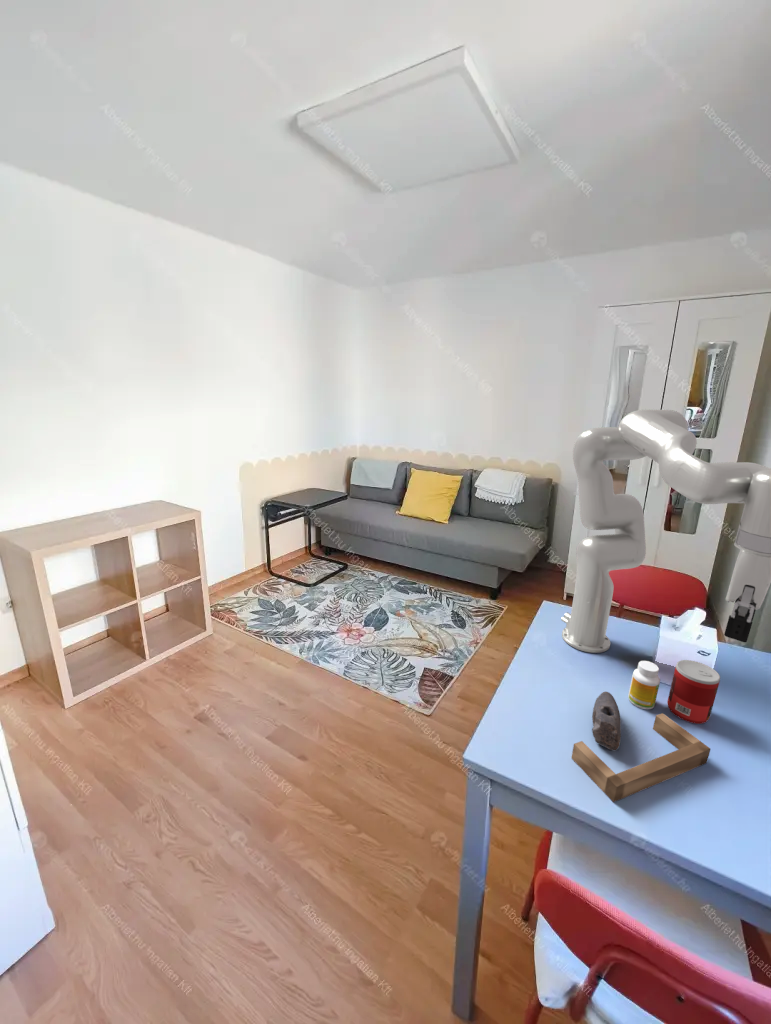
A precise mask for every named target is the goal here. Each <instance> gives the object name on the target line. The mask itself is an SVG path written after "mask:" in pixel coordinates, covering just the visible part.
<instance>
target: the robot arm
mask: <svg viewBox="0 0 771 1024" xmlns="http://www.w3.org/2000/svg"><path fill="white" fill-rule="evenodd" d="M688 426H689V425H688V422H687V419H686V418H685V416H684V415H683V414H682V413H681V412H679V411H677V410H672V409H637V410H634V411H631V412H629V413H627V414H626V415H624V416H623V418H621V420H620V422H619V425H618V427H617V426H611V427H610V426H606V427H605V426H604V427H603V426H602V427H593V428H589V429H587V430H584V431H583V432H581V433H580V434H579V435H578V437H577V438H576V439H575V442H574V444H573V449H572V460H573V465H574V469H575V473H576V477H577V483H578V487H577V488H578V503H579V515H580V520H581V521H580V522H581V523H582V526H583V527H584V528H586V529H588V530H593V531H604V530H607V531H608V530H614V532H615V533H614V534H610V533H609V534H597V535H591V536H587V537H585V538H583V539H581V540H580V541H579V542H578V544H577V546H576V552H575V553H576V554H575V555H576V577H575V584H574V593H573V599H572V603H571V604H572V605H571V611H570V612H565V613H564V615H563V616H562V617H561V618H560V619H561V621H562V622H563V623H565V624H566V626H565V627H564V628H563V629H562V631H561V637H562V639H563V641H564V642H565V643H566V644H568V645H569V646H571V647H572V648H574V649H576V650H579V651H582V652H586V653H592V654H593V653H594V654H596V653H597V654H599V653H604V652H606V651H608V650H609V649H610V647H611V641H610V638H609V637H608V636H607V635H606V634H607V628H608V623H609V618H610V612H611V606H612V601H613V594H614V588H615V587H614V583H613V580H612V578H611V576H610V574H609V573H610V572H611V571H617V570H630V569H635V568H638V567H639V566H641V565H642V564H643V563H644V562H645V558H646V554H647V552H646V551H647V547H646V545H647V544H646V530H645V528H646V527H645V517H644V516H645V515H644V510H643V509H644V508H643V506H642V504H641V503H640V501H639V500H638V498H636V497H635V496H633V495H632V494H628V493H627V494H626V493H615V490H614V479H613V478H614V477H613V475H612V473H611V471H610V469H609V467H607V466H606V464H604V461H630V460H631V461H633V460H640V459H643V458H647V457H648V458H649V459H651V460H652V461H654V462H655V463H657V464H658V470H659V473H660V475H661V478H662V479H663V480H662V481H664V483H665V484H667V486H669V487H670V488H672V489H673V490H674V491H676V492H678V493H679V494H681V496H683V497H685V498H686V499H689V500H690V501H692V502H695V503H699V504H703V505H716V504H717V505H718V504H744V506H743V509H742V514H741V518H740V521H739V524H738V528H737V532H736V537H735V539H734V543H733V545H734V547H735V548H737V549H739V552H738V555H737V558H736V561H735V564H734V568H733V571H732V575H731V580H730V583H729V586H728V590H727V592H726V597H725V601H726V602H727V603H730V602H731V603H734V605H733V608H732V611H731V614H729V616H728V620H727V623H726V627H725V630H724V631H725V632H724V636H725V637H726V638H730V639H731V640H735V641H738V642H742V643H747V642H748V639H749V636H750V632H751V629H752V625H753V621H754V617H755V614H756V610H760V609H761V607H762V605H763V603H764V600H765V598H766V595H767V594H768V591H769V588H770V586H771V467H768V466H766V465H763V464H759V463H755V462H747V461H745V462H744V461H743V462H742V461H741V462H737V461H736V462H735V461H734V462H733V461H732V462H731V461H730V462H728V461H727V462H707V461H705V460H702V459H701V458H699V457H697V456H696V455H693V454H694V453H695V450H696V448H697V444H698V443H697V436H695V434H694V433H693V432H692V431H690V430H689V427H688Z"/></svg>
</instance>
